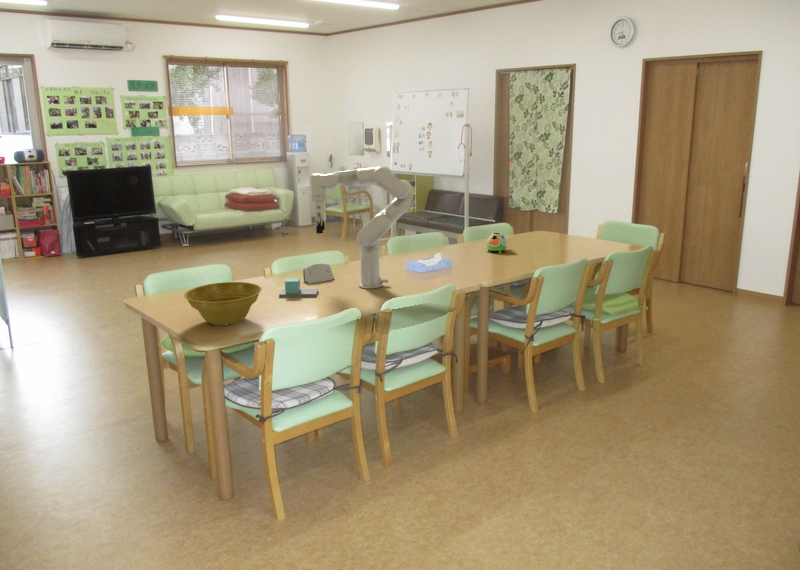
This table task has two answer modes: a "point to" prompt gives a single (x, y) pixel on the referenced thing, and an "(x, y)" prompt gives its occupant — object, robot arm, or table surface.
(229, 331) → the table surface
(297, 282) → the housing
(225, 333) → the table surface
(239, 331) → the table surface
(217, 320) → the planter bowl
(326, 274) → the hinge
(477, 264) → the table surface
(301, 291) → the base plate
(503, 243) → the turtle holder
